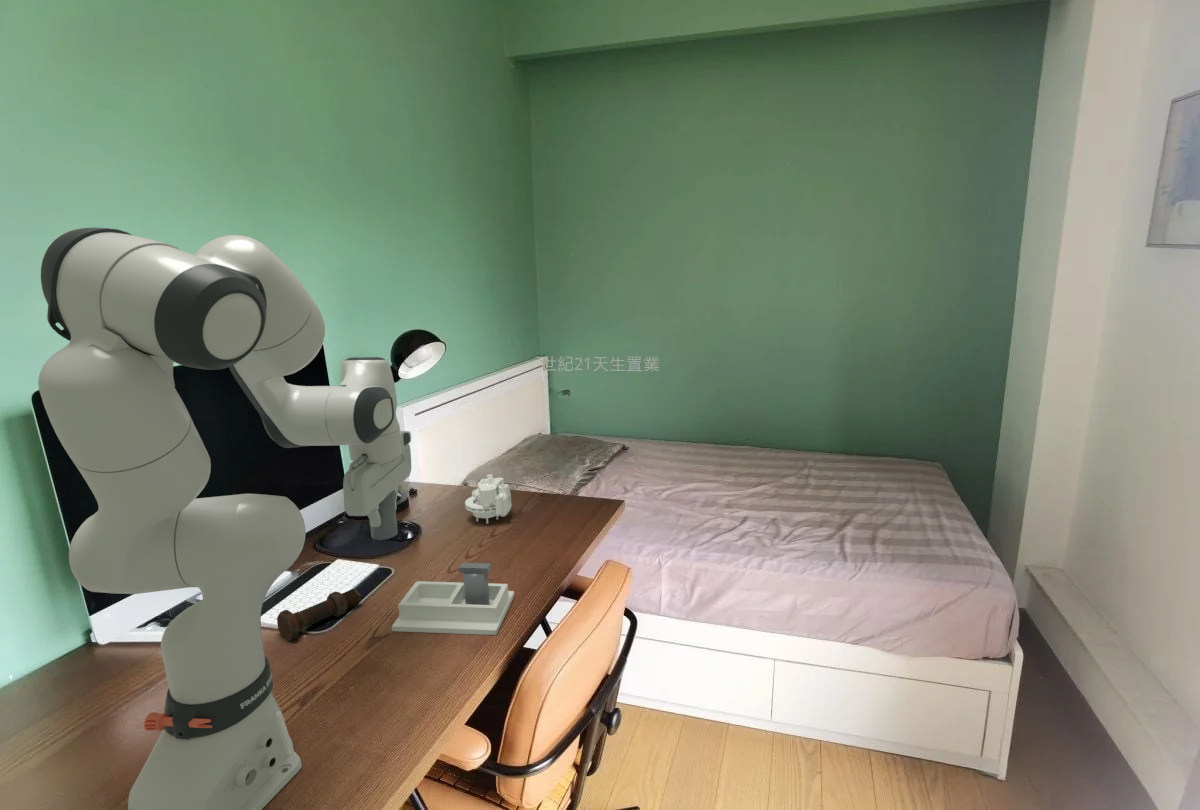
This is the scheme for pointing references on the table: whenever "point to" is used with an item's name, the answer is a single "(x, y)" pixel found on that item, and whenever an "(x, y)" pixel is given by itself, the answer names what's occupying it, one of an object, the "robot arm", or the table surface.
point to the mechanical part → (490, 499)
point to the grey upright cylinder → (386, 520)
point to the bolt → (316, 613)
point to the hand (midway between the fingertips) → (383, 518)
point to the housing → (456, 604)
